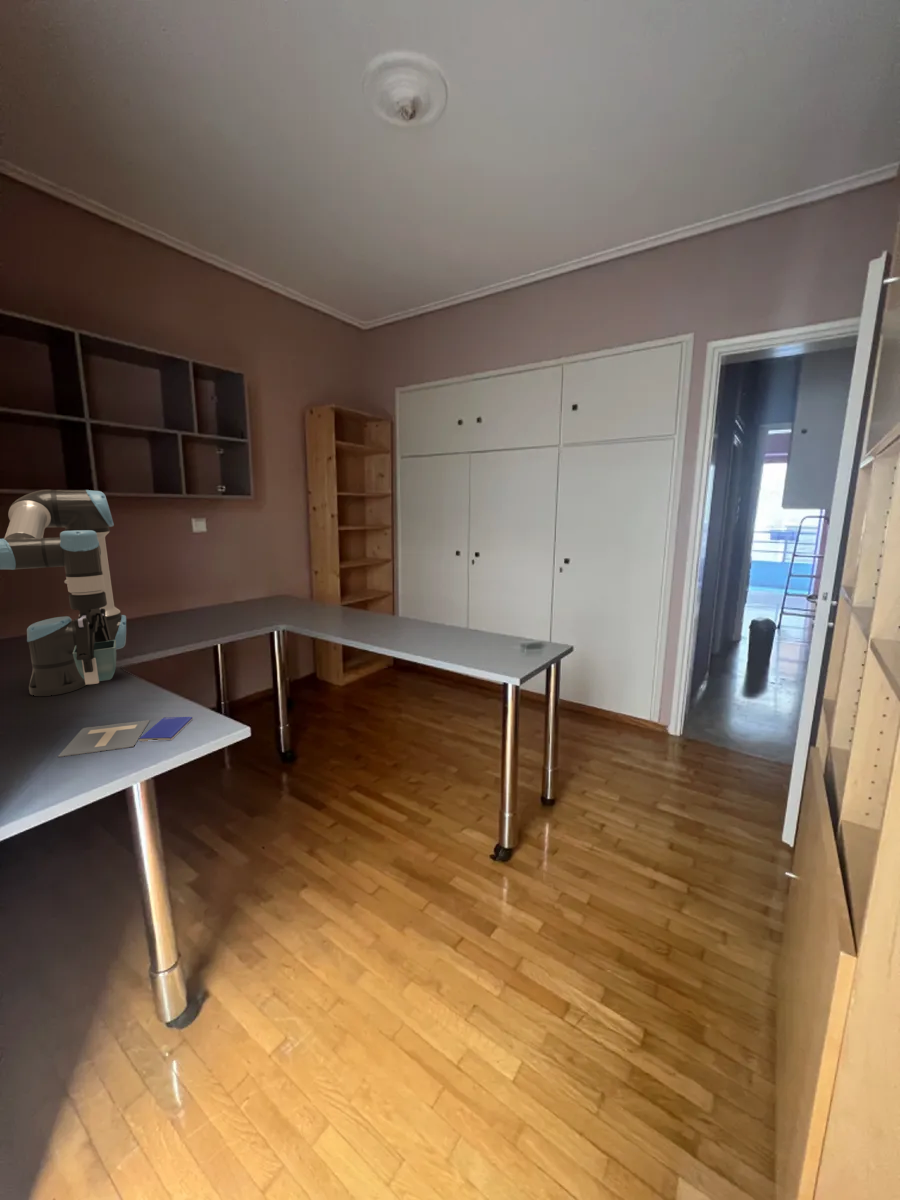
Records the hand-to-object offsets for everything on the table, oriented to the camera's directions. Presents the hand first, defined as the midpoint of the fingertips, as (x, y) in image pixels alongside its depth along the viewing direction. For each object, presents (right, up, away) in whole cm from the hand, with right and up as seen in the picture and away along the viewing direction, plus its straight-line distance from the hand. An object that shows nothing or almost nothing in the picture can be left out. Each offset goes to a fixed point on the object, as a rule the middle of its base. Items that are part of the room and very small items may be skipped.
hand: (99, 677), depth 127 cm
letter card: (+1, -16, +2) cm, 16 cm away
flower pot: (0, -1, 0) cm, 1 cm away
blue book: (+14, -16, +6) cm, 22 cm away
